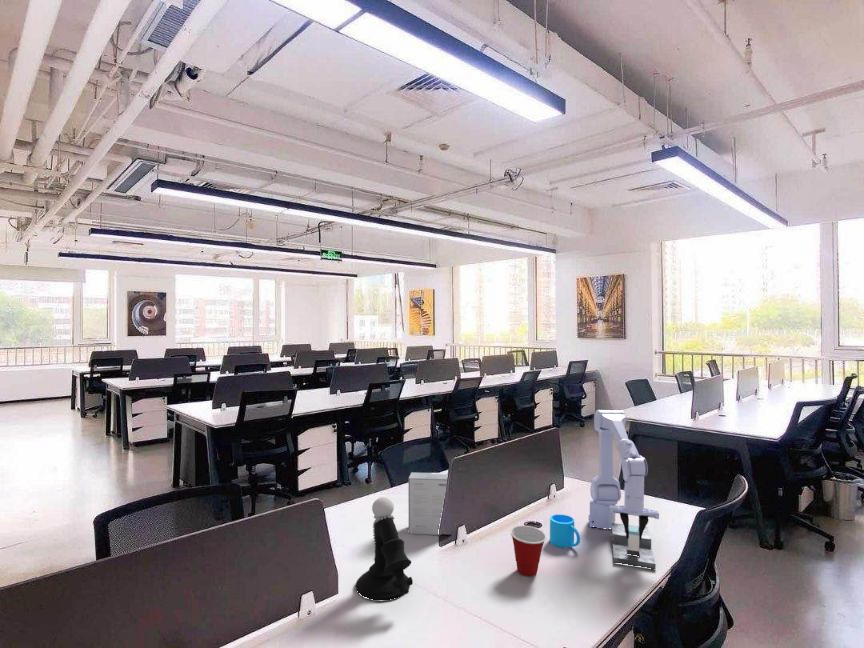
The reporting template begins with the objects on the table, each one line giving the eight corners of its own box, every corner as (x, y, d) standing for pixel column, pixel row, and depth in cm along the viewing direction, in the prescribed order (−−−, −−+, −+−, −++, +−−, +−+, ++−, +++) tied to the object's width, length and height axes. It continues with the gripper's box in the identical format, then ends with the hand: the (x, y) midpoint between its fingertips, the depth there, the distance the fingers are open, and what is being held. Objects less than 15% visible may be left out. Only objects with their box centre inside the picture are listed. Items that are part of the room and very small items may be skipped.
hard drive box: (452, 527, 182) (453, 473, 181) (451, 536, 174) (452, 479, 174) (410, 525, 183) (411, 471, 183) (407, 534, 176) (408, 478, 175)
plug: (628, 549, 157) (629, 531, 157) (627, 544, 161) (628, 526, 161) (639, 551, 156) (639, 532, 156) (637, 546, 160) (638, 527, 160)
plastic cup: (534, 585, 142) (535, 543, 142) (502, 572, 149) (503, 532, 149) (552, 571, 151) (553, 531, 150) (521, 559, 158) (521, 522, 158)
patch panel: (613, 563, 156) (614, 549, 156) (611, 535, 176) (611, 522, 176) (655, 570, 152) (655, 555, 152) (647, 540, 173) (648, 527, 173)
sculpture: (397, 568, 151) (398, 486, 151) (432, 609, 130) (433, 514, 130) (349, 579, 144) (349, 494, 144) (378, 624, 123) (379, 524, 123)
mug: (544, 540, 172) (544, 517, 172) (561, 535, 176) (561, 512, 176) (570, 554, 162) (571, 529, 161) (588, 549, 166) (588, 524, 166)
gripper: (610, 496, 157) (609, 539, 157) (660, 502, 152) (659, 546, 152) (609, 489, 163) (609, 530, 164) (657, 494, 159) (657, 537, 159)
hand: (633, 537), depth 158 cm, fingers closed on plug, 3 cm apart
